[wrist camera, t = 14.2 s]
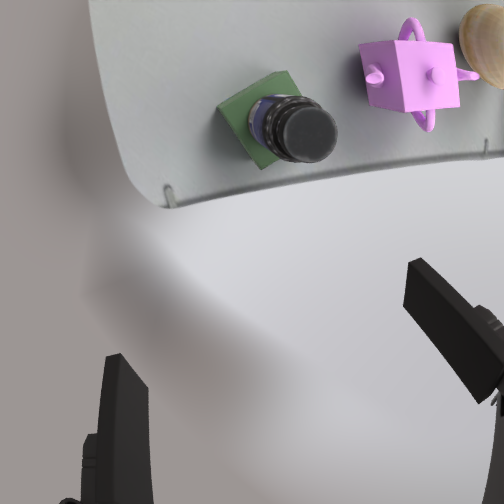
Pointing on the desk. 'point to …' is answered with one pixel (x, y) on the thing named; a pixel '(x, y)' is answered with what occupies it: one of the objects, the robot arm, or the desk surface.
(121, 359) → the robot arm
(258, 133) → the pill bottle
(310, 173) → the desk surface
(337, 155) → the desk surface
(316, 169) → the desk surface
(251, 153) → the block
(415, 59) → the teapot
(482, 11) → the decorative ball
